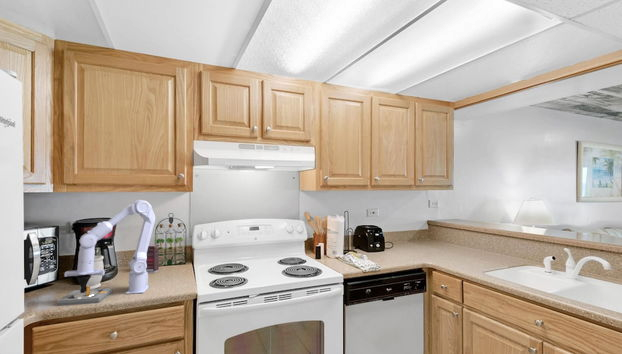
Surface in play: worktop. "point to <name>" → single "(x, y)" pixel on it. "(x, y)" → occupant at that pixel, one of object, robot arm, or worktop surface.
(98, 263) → the jar
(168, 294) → the worktop surface
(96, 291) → the dial
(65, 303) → the dial board
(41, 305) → the worktop surface
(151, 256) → the supplement box
